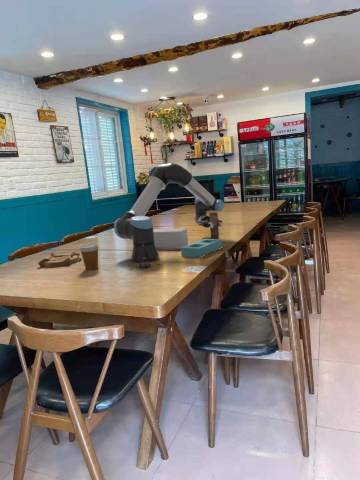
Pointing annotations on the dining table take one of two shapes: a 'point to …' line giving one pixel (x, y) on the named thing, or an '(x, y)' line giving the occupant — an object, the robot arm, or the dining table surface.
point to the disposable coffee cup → (90, 256)
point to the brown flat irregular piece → (60, 260)
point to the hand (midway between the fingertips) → (216, 225)
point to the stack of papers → (170, 238)
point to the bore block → (201, 247)
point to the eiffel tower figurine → (144, 262)
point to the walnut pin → (214, 225)
